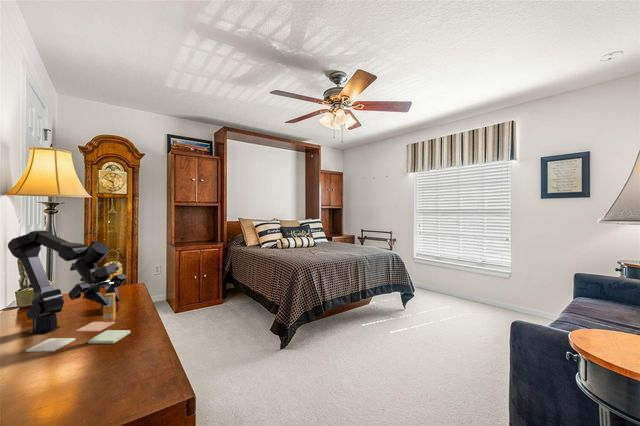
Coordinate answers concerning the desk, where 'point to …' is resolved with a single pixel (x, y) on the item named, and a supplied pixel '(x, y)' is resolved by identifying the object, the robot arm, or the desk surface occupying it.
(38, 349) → the white tile
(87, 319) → the desk surface
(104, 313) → the supplement box
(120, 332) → the sage tile
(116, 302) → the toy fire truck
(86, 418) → the desk surface
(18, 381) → the desk surface
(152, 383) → the desk surface
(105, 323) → the terracotta tile
